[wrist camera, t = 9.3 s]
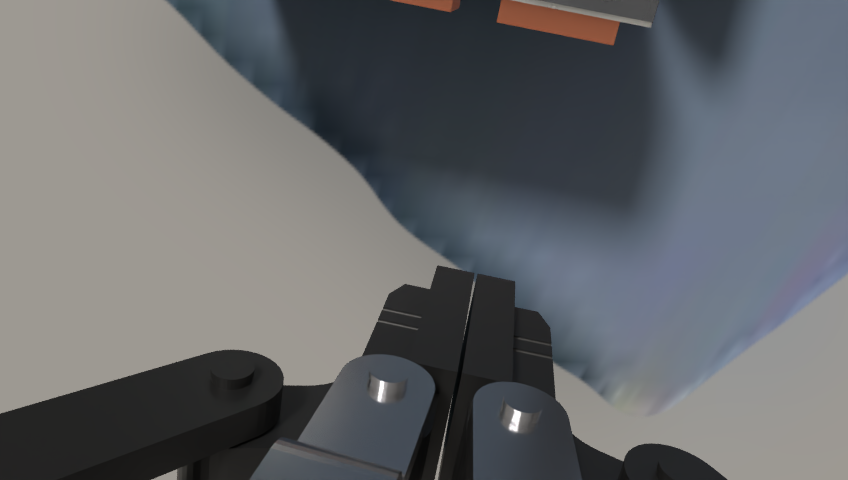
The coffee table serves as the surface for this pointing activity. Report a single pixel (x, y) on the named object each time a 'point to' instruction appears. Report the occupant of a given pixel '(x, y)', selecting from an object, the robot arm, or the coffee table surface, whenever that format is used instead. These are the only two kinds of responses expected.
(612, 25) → the switch
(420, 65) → the coffee table surface
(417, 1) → the switch
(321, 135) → the coffee table surface
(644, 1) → the dark grey block
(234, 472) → the robot arm
